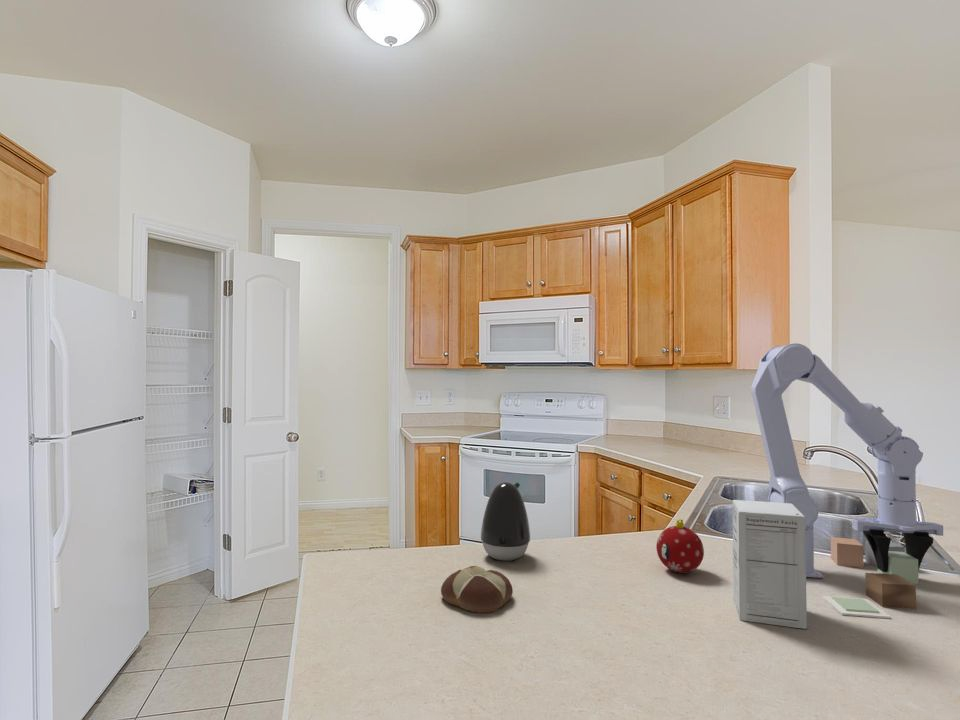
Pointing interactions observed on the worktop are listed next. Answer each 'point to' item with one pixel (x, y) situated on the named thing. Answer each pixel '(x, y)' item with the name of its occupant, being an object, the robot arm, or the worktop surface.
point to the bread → (477, 589)
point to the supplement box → (769, 563)
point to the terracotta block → (847, 552)
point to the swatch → (855, 607)
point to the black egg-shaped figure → (505, 523)
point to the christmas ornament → (680, 548)
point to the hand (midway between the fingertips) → (897, 571)
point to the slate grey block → (870, 555)
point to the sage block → (902, 566)
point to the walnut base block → (891, 590)
